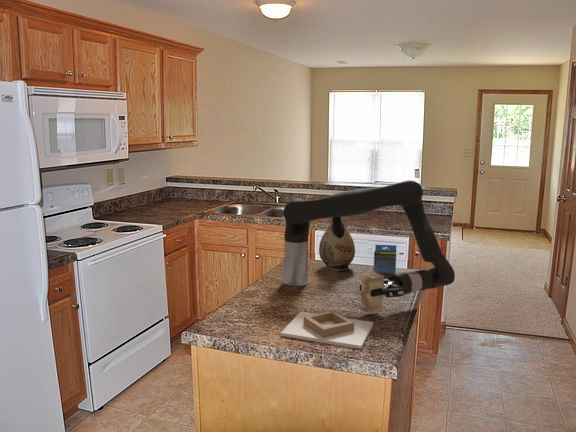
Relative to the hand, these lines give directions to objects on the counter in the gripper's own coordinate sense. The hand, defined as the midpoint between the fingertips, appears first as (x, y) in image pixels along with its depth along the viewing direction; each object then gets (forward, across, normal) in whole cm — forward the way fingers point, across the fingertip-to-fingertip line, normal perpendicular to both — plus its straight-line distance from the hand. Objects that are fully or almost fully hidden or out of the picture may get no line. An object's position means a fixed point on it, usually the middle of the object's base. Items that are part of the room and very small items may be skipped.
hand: (365, 290), depth 163 cm
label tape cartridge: (-39, -35, +9) cm, 53 cm away
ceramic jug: (-23, -48, +9) cm, 55 cm away
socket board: (+17, +4, +9) cm, 19 cm away
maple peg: (-3, 0, +7) cm, 7 cm away
